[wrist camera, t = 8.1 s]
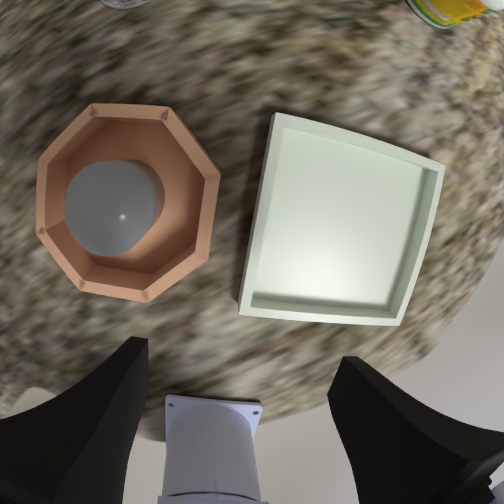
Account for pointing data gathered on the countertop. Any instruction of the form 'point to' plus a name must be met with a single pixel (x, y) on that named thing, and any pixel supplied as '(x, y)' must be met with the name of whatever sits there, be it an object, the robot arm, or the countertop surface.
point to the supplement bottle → (453, 10)
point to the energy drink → (124, 3)
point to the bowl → (174, 212)
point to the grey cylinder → (113, 205)
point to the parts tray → (337, 226)
